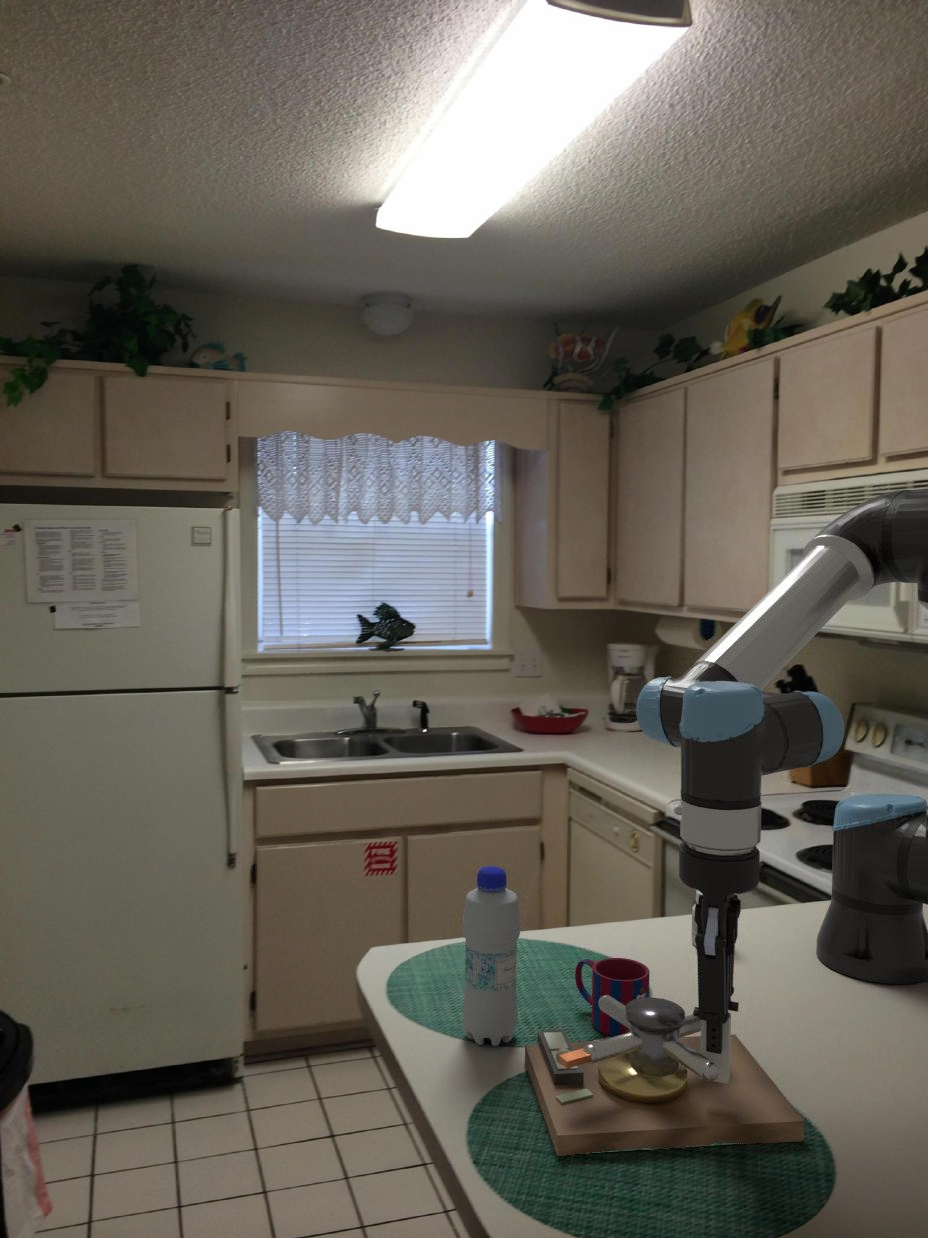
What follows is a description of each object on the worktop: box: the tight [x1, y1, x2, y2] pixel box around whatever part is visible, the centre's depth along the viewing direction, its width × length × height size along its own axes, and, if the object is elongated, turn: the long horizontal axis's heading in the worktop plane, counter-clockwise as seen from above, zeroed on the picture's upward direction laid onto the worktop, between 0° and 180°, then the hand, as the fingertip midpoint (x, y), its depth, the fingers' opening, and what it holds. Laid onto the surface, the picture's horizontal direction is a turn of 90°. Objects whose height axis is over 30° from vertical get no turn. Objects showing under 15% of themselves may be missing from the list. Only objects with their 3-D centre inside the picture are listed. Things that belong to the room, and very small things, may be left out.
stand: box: [524, 1029, 805, 1157], centre depth 101 cm, size 24×18×4 cm
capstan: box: [559, 995, 719, 1103], centre depth 100 cm, size 18×20×7 cm
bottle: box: [461, 865, 522, 1047], centre depth 113 cm, size 7×7×20 cm
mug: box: [574, 957, 651, 1037], centre depth 118 cm, size 7×10×7 cm
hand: (714, 1077), depth 97 cm, fingers closed
